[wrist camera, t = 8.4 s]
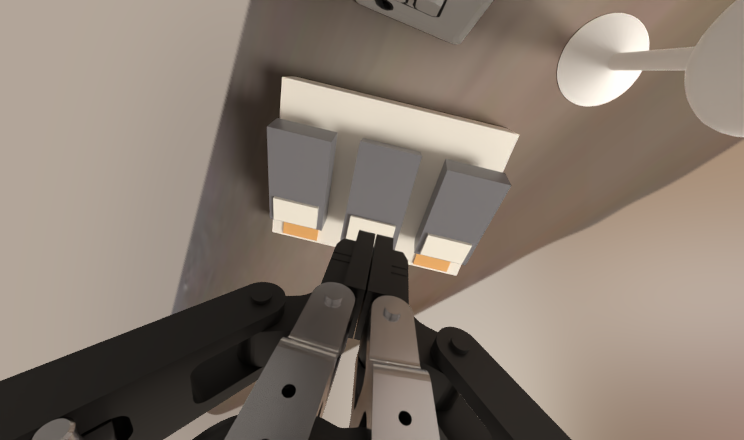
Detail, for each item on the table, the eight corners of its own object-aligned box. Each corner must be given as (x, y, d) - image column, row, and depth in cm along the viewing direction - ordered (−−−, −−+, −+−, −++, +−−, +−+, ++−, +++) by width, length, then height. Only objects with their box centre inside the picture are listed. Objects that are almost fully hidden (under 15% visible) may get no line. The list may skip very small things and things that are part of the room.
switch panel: (294, 76, 26) (278, 77, 23) (507, 128, 27) (522, 136, 23) (282, 218, 33) (269, 235, 30) (452, 259, 34) (457, 279, 30)
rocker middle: (363, 137, 25) (359, 141, 23) (420, 151, 25) (422, 156, 23) (343, 231, 28) (339, 241, 26) (394, 243, 28) (393, 254, 26)
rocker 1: (277, 117, 23) (265, 127, 22) (337, 132, 23) (330, 143, 22) (278, 206, 29) (268, 220, 27) (327, 218, 29) (320, 232, 27)
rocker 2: (445, 158, 24) (447, 171, 22) (505, 173, 24) (512, 187, 22) (414, 239, 29) (414, 255, 27) (462, 251, 29) (465, 267, 27)
